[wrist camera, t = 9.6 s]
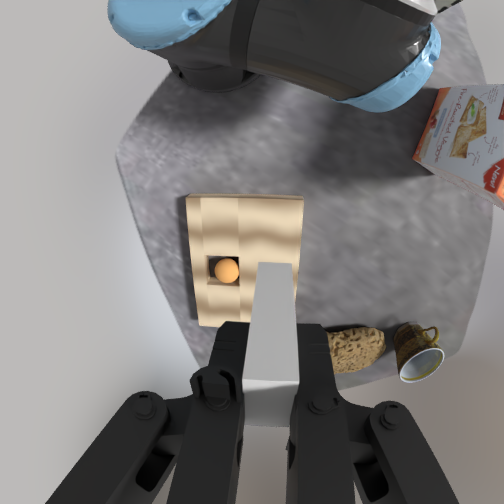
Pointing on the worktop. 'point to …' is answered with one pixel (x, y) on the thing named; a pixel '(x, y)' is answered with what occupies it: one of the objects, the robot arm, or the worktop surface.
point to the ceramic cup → (416, 352)
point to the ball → (227, 270)
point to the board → (239, 247)
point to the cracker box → (467, 140)
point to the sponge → (355, 348)
